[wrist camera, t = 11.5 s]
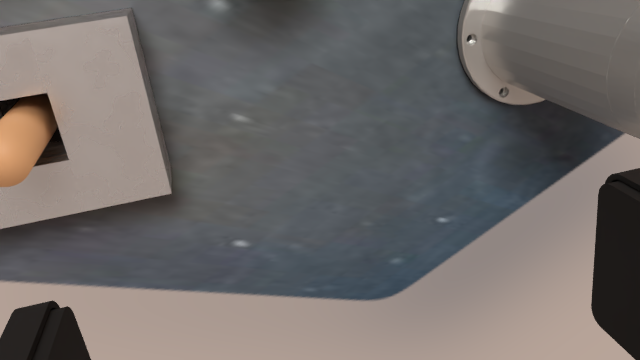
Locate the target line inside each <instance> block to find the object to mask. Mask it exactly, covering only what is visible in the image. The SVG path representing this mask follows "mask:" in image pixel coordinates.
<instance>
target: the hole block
mask: <svg viewBox="0 0 640 360" xmlns="http://www.w3.org/2000/svg"><path fill="white" fill-rule="evenodd" d="M43 93H48V97H49V100H50V103H51V106H52V109H53V112H54V115H55V118H56V121H57V124H58V128H59V131H60V134H61V137H62V140H60V141H54V142H49V143H48V144H47V145H46V147H45V149H44V150H43V152H42V153H41V155H40V157H39V158H38V160H37V162H36V163H35V165H34V166H33V168H32V170H31V171H30V173H29V175H28V176H27V177H26V179H25V180H23V181H22V182H21V183H19V184H17V185H14V186H11V187H0V229H3V228H7V227H12V226H17V225H22V224H27V223H32V222H36V221H41V220H46V219H51V218H56V217H61V216H65V215H70V214H75V213H80V212H85V211H90V210H94V209H99V208H104V207H109V206H114V205H119V204H124V203H128V202H133V201H138V200H143V199H148V198H153V197H157V196H162V195H167V194H172V171H171V164H170V160H169V156H168V152H167V148H166V144H165V140H164V136H163V132H162V128H161V124H160V120H159V116H158V112H157V108H156V104H155V99H154V95H153V91H152V87H151V83H150V79H149V75H148V71H147V67H146V63H145V59H144V55H143V51H142V47H141V43H140V39H139V35H138V31H137V27H136V23H135V19H134V15H133V10H132V8H125V9H119V10H112V11H106V12H99V13H93V14H86V15H79V16H73V17H66V18H60V19H53V20H47V21H40V22H34V23H27V24H21V25H14V26H7V27H1V28H0V101H2V100H8V99H14V98H20V97H26V96H31V95H37V94H43ZM2 117H3V116H2V113H1V110H0V119H1V118H2Z"/></svg>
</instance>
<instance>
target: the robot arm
mask: <svg viewBox="0 0 640 360" xmlns="http://www.w3.org/2000/svg"><path fill="white" fill-rule="evenodd" d="M468 36H469V39H468V40H467V37H468ZM457 44H458V50H459V56H460V60H461V62H462V65H463V68H464V70H465V72H466V74H467V75H468V77H469V78H470V80H471V82H472V83H473V84H474V85H475V86H476V87H477V88H478V89H479V90H480V91H482V92H483V93H485V94H486V95H488V96H490V97H491V98H493V99H495V100H497V101H500V102H503V103H507V104H512V105H529V104H534V103H539V102H542V101H544V100H548V101H551V102H553V103H555V104H558V105H560V106H562V107H565V108H567V109H570V110H572V111H574V112H577V113H579V114H581V115H584V116H586V117H589V118H591V119H593V120H596V121H598V122H601V123H603V124H605V125H608V126H610V127H612V128H615V129H617V130H620V131H622V132H624V133H627V134H629V135H632V136H634V137H637V138H639V139H640V0H465V1H464V4H463V7H462V9H461V12H460V18H459V23H458V37H457ZM500 89H501V90H500ZM499 91H500V92H499ZM591 306H592V313H593V316H594V318H595V320H596V322H597V323H598V324H599V326H600V327H601V328H602V329H603V330H604V331H606V332H607V333H608V334H609V335H610V336H611V337H612V338H613V339H614V340H615V341H616V342H617V343H618V344H619V345H621V346H622V347H623V348H624V349H625V350H626V351H627V352H628V353H629V354H630V355H631V356H632V357H633V358H634V359H636V360H640V168H638V169H634V170H629V171H625V172H620V173H616V174H612V175H610V176H609V177H608V178H607V180H606V182H605V184H604V185H602V186H601V188H600V189H599V194H598V210H597V226H596V242H595V257H594V273H593V289H592V304H591ZM0 360H91V359H90V356H89V353H88V351H87V348H86V345H85V342H84V340H83V337H82V334H81V332H80V329H79V327H78V324H77V321H76V319H75V316H74V313H73V311H72V310H71V309H70V308H69V307H64V308H60V307H59V305H58V304H57V303H56V302H54V301H49V302H45V303H40V304H36V305H32V306H27V307H23V308H18V309H15V310H14V312H13V313H12V315H11V317H10V319H9V321H8V323H7V325H6V327H5V329H4V332H3V334H2V336H1V338H0Z"/></svg>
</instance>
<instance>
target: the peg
mask: <svg viewBox="0 0 640 360" xmlns="http://www.w3.org/2000/svg"><path fill="white" fill-rule="evenodd" d="M57 128H58V124H57V121H56V118H55V115H54V112H53V109H52V106H51V103H50V100H49V97H48V95H47V94H44V93H43V94H37V95H31V96H26V97H22V98H21V99H20V100H19V101H18V102H17V103H16V104H15V105H14V106H13V107H12V108H11V109H10V110H9V111H8V112H7V113H6V114H5V115H4V116H3V117H2V118H1V119H0V187H11V186H14V185H17V184H19V183H21V182H22V181H23V180H25V179H26V177H27V176H28V175H29V173H30V171H31V170H32V168H33V166H34V165H35V163H36V162H37V160H38V158H39V157H40V155H41V153H42V152H43V150H44V149H45V147H46V145H47V144H48V142H49V141H50V139H51V137H52V136H53V134H54V132H55V131H56V129H57Z"/></svg>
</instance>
